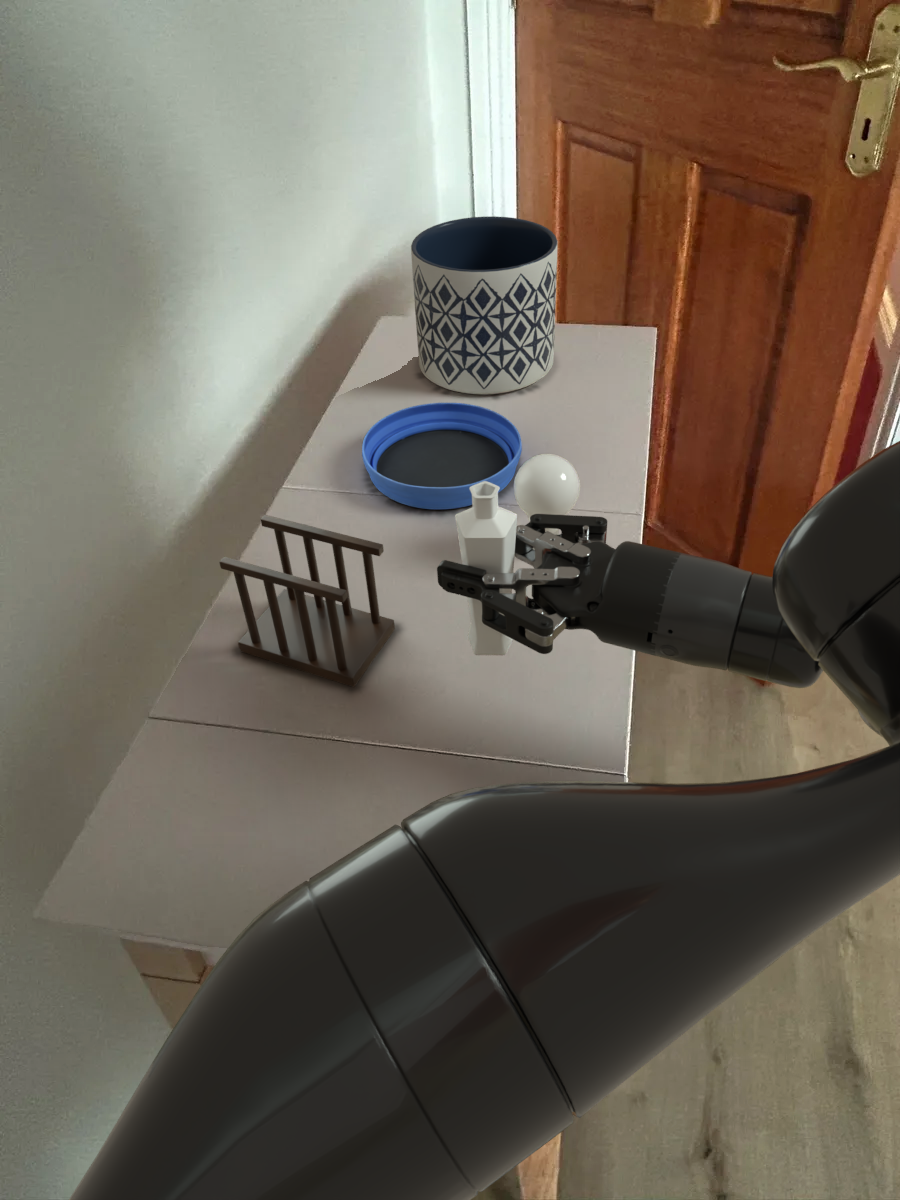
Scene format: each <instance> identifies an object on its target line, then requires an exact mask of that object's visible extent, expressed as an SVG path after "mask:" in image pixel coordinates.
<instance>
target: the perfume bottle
mask: <svg viewBox="0 0 900 1200" xmlns="http://www.w3.org/2000/svg"><path fill="white" fill-rule="evenodd" d="M469 489H470V491H471V494H472V505H471V506H472V507H470V508H468V509H465V510H463V511H460V512H458V513H456V514H455V515H454V519H455V526H456V532H457V538H458V545H459V551H460V559H461V564H464V565H468V566H472V567H476V568H480V569H484V570H486V574H487V573H514V569H515V556H514V555H515V541H516V527H517V526H518V514H517V513H516V512H513V511H511V510H509V509H506V508H504V507H501V506H499V493H498V491H499V489H500V487H499V486H497V485H495V484H492V483H490V482H487V481H483V482H480V483H478V484H475V485H473V486H471V487H470V488H469ZM500 593H509V594H513V589H500ZM466 598H467V599H466V600H467V604H468V605H467V606H468V611H469V612H468V613H469V618H470V626H469V628H468V632H467V639H468V641H469V645H470V647H471V650H472V652H473V654H474V656H505V655H506V654H507V653H508V652H509V649H510V646H511V645H512V643H513V641H514V640H513V639H511V638H510V637H508V636H506V635H504V634H502V633H500V632H498V631H496V630H494V629H492V628H490V627H488V626H486V625H485V624H483V622H482V602H481V601H479V600H477V599H473V598H469V597H466ZM499 613H500V612H499ZM500 614H502V613H500ZM502 615H503V614H502Z"/></svg>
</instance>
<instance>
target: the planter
mask: <svg viewBox="0 0 900 1200" xmlns="http://www.w3.org/2000/svg"><path fill="white" fill-rule="evenodd" d="M558 243H559V242H558V238H557V236H556V235H555V233H554V232H553V231H552V230H550V229H549V228H548V227H546V226H544V225H542V224H539V223H537V222H534V221H531V220H528V219H527V220H526V219H522V218H517V217H508V216H493V215H492V216H491V215H490V216H471V217H463V218H458V219H453V220H448V221H444V222H440V223H438V224H435V225H433V226H430V227H428V228H426V229H425V230H423V231H421V232H420V233H418V234H417V235H416V236H415V237H414V239H413V240H412V242H411V244H410V252H411V255H410V256H411V271H412V272H411V273H412V285H413V286H412V287H413V298H414V300H413V301H414V312H415V313H414V314H415V326H416V340H417V341H416V342H417V354H418V366H419V369H420V372H421V373H422V374H423V376H425V378H427V379H428V380H429V381H430V382H432V383H434V384H435V385H437V386H439V387H441V388H443V389H446V390H449V391H452V392H453V391H454V392H456V393H462V394H468V395H499V394H505V393H510V392H514V391H519V390H521V389H524V388H526V387H529V386H531V385H533V384H535V383H537V382H538V381H540V380H542V379H543V378H544V377H545V376H546V375H548V373H549V372H550V371H551V369H552V367H553V365H554V359H555V338H556V337H555V333H556V308H557V307H556V306H557V305H556V303H557V280H558V279H557V278H558Z"/></svg>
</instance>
